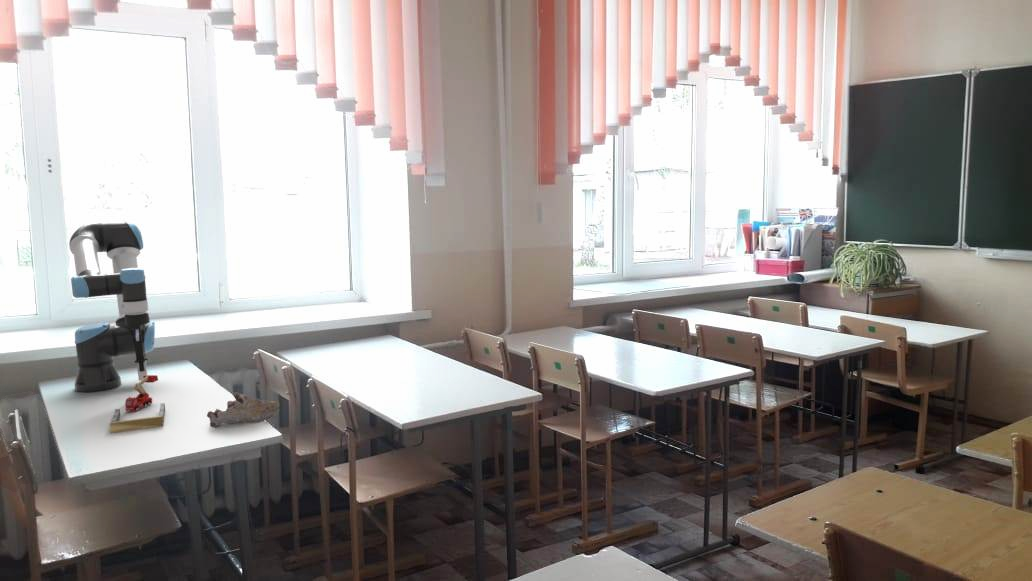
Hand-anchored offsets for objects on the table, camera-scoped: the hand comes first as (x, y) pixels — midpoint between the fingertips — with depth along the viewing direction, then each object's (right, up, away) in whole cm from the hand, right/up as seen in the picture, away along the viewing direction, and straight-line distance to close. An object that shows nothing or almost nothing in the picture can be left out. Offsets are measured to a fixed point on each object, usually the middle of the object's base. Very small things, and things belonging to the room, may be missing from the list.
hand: (143, 379), depth 269 cm
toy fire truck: (+4, -8, -10) cm, 13 cm away
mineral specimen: (+46, -10, -30) cm, 55 cm away
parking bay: (+11, -10, -25) cm, 29 cm away
